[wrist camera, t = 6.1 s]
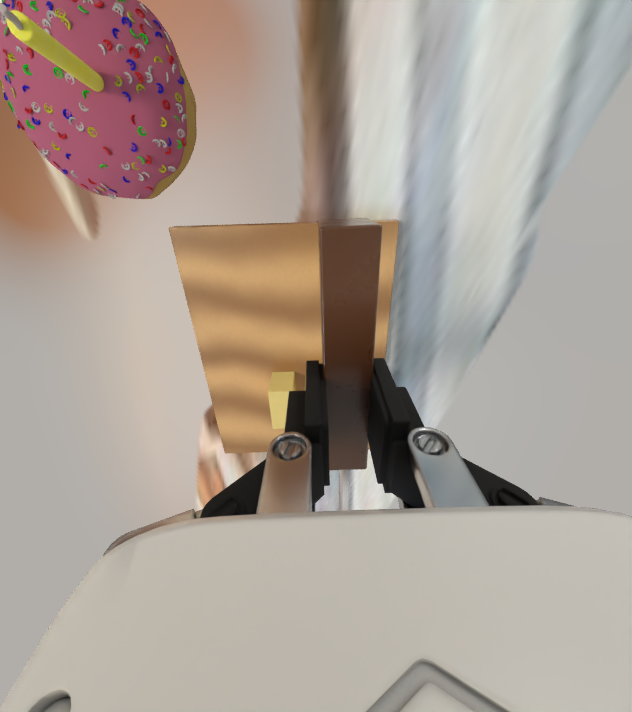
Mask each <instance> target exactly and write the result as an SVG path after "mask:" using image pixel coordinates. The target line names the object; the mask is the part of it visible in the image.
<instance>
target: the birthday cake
mask: <svg viewBox="0 0 632 712" xmlns="http://www.w3.org/2000/svg"><path fill="white" fill-rule="evenodd" d="M0 85H1V86H2V88H4V90H5V91H4V90H3V92H4V98H5V100H9V102H8V104H9V106H10V108H11V110H12V112H13V113H14V115H15V116H16V118H17V119H18V125H17V127H18V128H22V129H23V130H24V131H25V132H26V133H27V135H28V137H29V138H30V139H31V141H32V142H33V143H34V145H35V146H36V147H37V149H38V150H39V151H40V153H41V154H42V155H43V156H44V157H45V158H46V159H47V160H48V161H49V162H50V163H51V164H52V165H54V166H55V167H56V168H57V169H58V170H60V171H61V172H62V173H63V174H65V175H66V176H67V177H68V178H70V179H71V180H72V181H73V182H75V183H76V184H77V185H79V186H80V187H82V188H83V189H85V190H87V191H89V192H92V193H94V194H98V195H103V196H110V197H111V198H113V199H115V198H116V197H122V198H123V197H124V198H134V199H151V198H154V197H156V196H158V195H159V194H160V193H161V192H162V191H164V190H165V189H166V188H167V187H168V186H170V185H171V183H173V182H174V180H175V179H176V178H177V177H178V176H179V175H180V174H181V172H182V171H183V169H184V168H185V167H186V165H187V163H188V161H189V159H190V157H191V154H192V152H193V149H194V145H195V141H196V103H195V98H194V95H193V92H192V89H191V87H190V84H189V82H188V80H187V77H186V75H185V72H184V70H183V68H182V65H181V63H180V60H179V58H178V55H177V53H176V51H175V47H174V45H173V43H172V40H171V38H170V37H169V35H168V33H167V32H166V30H165V29H164V27H163V26H162V24H161V23H160V22H159V20H158V19H157V18H156V17H155V15H154V14H153V13H152V12H151V11H150V10H149V9H148V8H147V7H146V6H145V5H143V4H142V3H140V2H139V1H137V0H2V3H0Z"/></svg>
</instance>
